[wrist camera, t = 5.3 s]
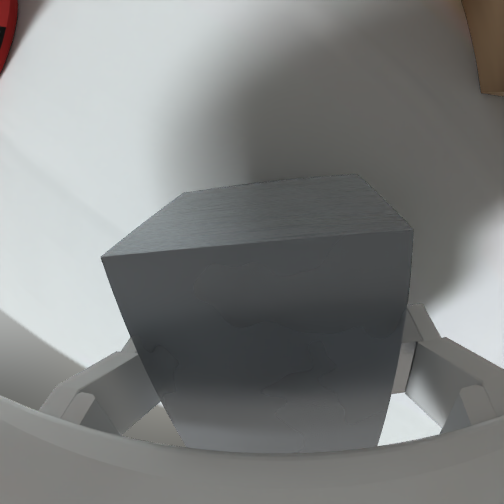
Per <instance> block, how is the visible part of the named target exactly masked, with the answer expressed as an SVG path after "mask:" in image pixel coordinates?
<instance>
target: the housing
mask: <svg viewBox="0 0 504 504" xmlns="http://www.w3.org/2000/svg"><path fill="white" fill-rule="evenodd" d="M412 248H413V229H412V227H411V226H410V225H409V224H408V223H407V222H406V221H405V220H404V219H403V218H402V217H401V216H400V215H399V214H398V213H397V212H396V211H395V210H394V209H393V208H392V207H391V206H390V205H389V204H388V203H387V202H386V201H385V200H384V199H383V198H382V197H381V196H380V195H379V194H378V193H377V192H376V191H375V190H374V189H373V188H372V187H371V186H370V185H368V184H367V183H366V182H365V181H364V180H363V179H362V178H361V177H360V176H359V175H358V174H350V175H336V176H323V177H311V178H300V179H290V180H280V181H271V182H262V183H253V184H244V185H236V186H229V187H221V188H214V189H206V190H199V191H193V192H186V193H183V194H181V195H180V196H178V197H177V198H176V199H174V200H173V201H172V202H170V203H169V204H168V205H166V206H165V207H163V208H162V209H161V210H159V211H158V212H157V213H155V214H154V215H153V216H152V217H150V218H149V219H148V220H146V221H145V222H144V223H142V224H141V225H140V226H138V227H137V228H136V229H135V230H133V231H132V232H131V233H130V234H128V235H127V236H126V237H125V238H123V239H122V240H121V241H120V242H118V243H117V244H116V245H115V246H113V247H112V248H111V249H110V250H108V251H107V252H106V253H105V254H104V255H102V256H101V259H102V262H103V265H104V268H105V271H106V274H107V277H108V280H109V283H110V286H111V288H112V291H113V294H114V296H115V299H116V302H117V304H118V307H119V310H120V312H121V315H122V317H123V320H124V322H125V325H126V327H127V329H128V332H129V334H130V337H131V339H132V341H133V343H134V346H135V348H136V350H137V353H138V355H139V357H140V359H141V361H142V364H143V366H144V368H145V370H146V372H147V374H148V376H149V378H150V380H151V382H152V384H153V387H154V389H155V391H156V393H157V394H158V396H159V398H160V400H161V402H162V404H163V406H164V408H165V410H166V412H167V414H168V415H169V417H170V419H171V421H172V423H173V424H174V426H175V428H176V430H177V432H178V433H179V435H180V437H181V439H182V440H183V442H184V444H185V445H186V447H187V448H196V449H205V450H215V451H227V452H244V453H314V452H330V451H342V450H352V449H361V448H369V447H376V446H377V445H378V442H379V438H380V435H381V431H382V428H383V424H384V421H385V417H386V413H387V409H388V405H389V401H390V397H391V393H392V389H393V384H394V380H395V375H396V370H397V365H398V360H399V355H400V349H401V344H402V338H403V332H404V325H405V318H406V311H407V303H408V294H409V285H410V275H411V263H412Z"/></svg>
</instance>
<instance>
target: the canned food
mask: <svg viewBox="0 0 504 504" xmlns="http://www.w3.org/2000/svg"><path fill="white" fill-rule="evenodd" d="M17 10H18V3H17V0H0V73H1V71H2V68H3V66H4V63H5V61H6V58H7V56H8V53H9V50H10V47H11V44H12V40H13V36H14V32H15V27H16V21H17Z"/></svg>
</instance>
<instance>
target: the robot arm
mask: <svg viewBox="0 0 504 504" xmlns="http://www.w3.org/2000/svg"><path fill="white" fill-rule="evenodd" d="M402 392H405V394H406V395H407V396H408V397H409V398H410V399H412V400H413V401H414V402H415V403H416V404H417V405H418V406H419V407H420V408H421V409H422V410H423V411H424V412H425V413H426V414H427V415H428V416H429V417H430V418H431V419H433V420H434V421H435V422H436V423H437V424H438V425H439V426H440V427H441V428H442V430H441V432H440V434H439V435H435V436H430V437H426V438H421V439H416V440H412V441H406V442H401V443H395V444H389V445H383V446H376V447H369V448H361V449H352V450H342V451H330V452H314V453H244V452H227V451H215V450H205V449H196V448H187V447H180V446H173V445H166V444H160V443H155V442H149V441H144V440H139V439H134V438H128V437H124V436H122V434H123V433H125V432H126V431H127V430H128V429H129V428H130V427H132V426H133V425H134V424H135V423H136V422H137V421H139V420H140V419H141V418H142V417H143V416H144V415H145V414H147V413H148V412H149V411H150V410H151V409H152V408H153V407H154V406H156V405H157V404H158V403H159V402H160V401H161V400H160V398H159V396H158V394H157V393H156V391H155V389H154V387H153V384H152V382H151V380H150V378H149V376H148V374H147V372H146V370H145V368H144V366H143V364H142V361H141V359H140V357H139V355H138V353H137V350H136V348H135V346H134V343H133V341H132V339H131V337H130V339H129V340H128V342H127V343H126V345H125V346H124V348H123V349H122V351H121V352H117V351H116V352H115V353H113V354H111V355H109V356H108V357H106V358H104V359H102V360H101V361H99V362H97V363H95V364H94V365H92V366H90V367H88V368H86V369H85V370H83V371H81V372H79V373H78V374H76V375H74V376H72V377H71V378H69V379H67V380H65V381H64V382H62V383H60V384H58V385H57V386H56V387H55V389H54V390H53V391H52V393H51V394H50V395H49V397H48V398H47V400H46V401H45V402H44V404H43V405H42V406H41V408H40V409H39V411H37V410H34V409H32V408H29V407H26V406H24V405H21V404H19V403H17V402H14V401H12V400H10V399H7V398H5V397H3V396H1V395H0V504H504V369H502V368H500V367H499V366H497V365H495V364H493V363H491V362H490V361H488V360H486V359H484V358H483V357H481V356H479V355H477V354H475V353H474V352H472V351H470V350H468V349H467V348H465V347H463V346H461V345H459V344H458V343H456V342H454V341H452V340H450V339H448V338H447V337H444V338H441V336H440V334H439V333H438V331H437V329H436V327H435V325H434V323H433V322H432V320H431V318H430V316H429V314H428V313H427V311H426V309H425V307H424V306H423V304H421V303H419V304H413V305H407V311H406V318H405V325H404V332H403V338H402V344H401V349H400V355H399V360H398V365H397V370H396V375H395V380H394V384H393V389H392V393H391V394H395V393H402Z"/></svg>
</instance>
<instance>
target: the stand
mask: <svg viewBox="0 0 504 504" xmlns="http://www.w3.org/2000/svg"><path fill="white" fill-rule="evenodd" d="M462 4H463V7H464V11H465V14H466V18H467V22H468V26H469V30H470V34H471V38H472V43H473V47H474V52H475V57H476V63H477V69H478V75H479V82H480V89H481V93H483V94H490V95H497V96H503V97H504V0H462Z"/></svg>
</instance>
